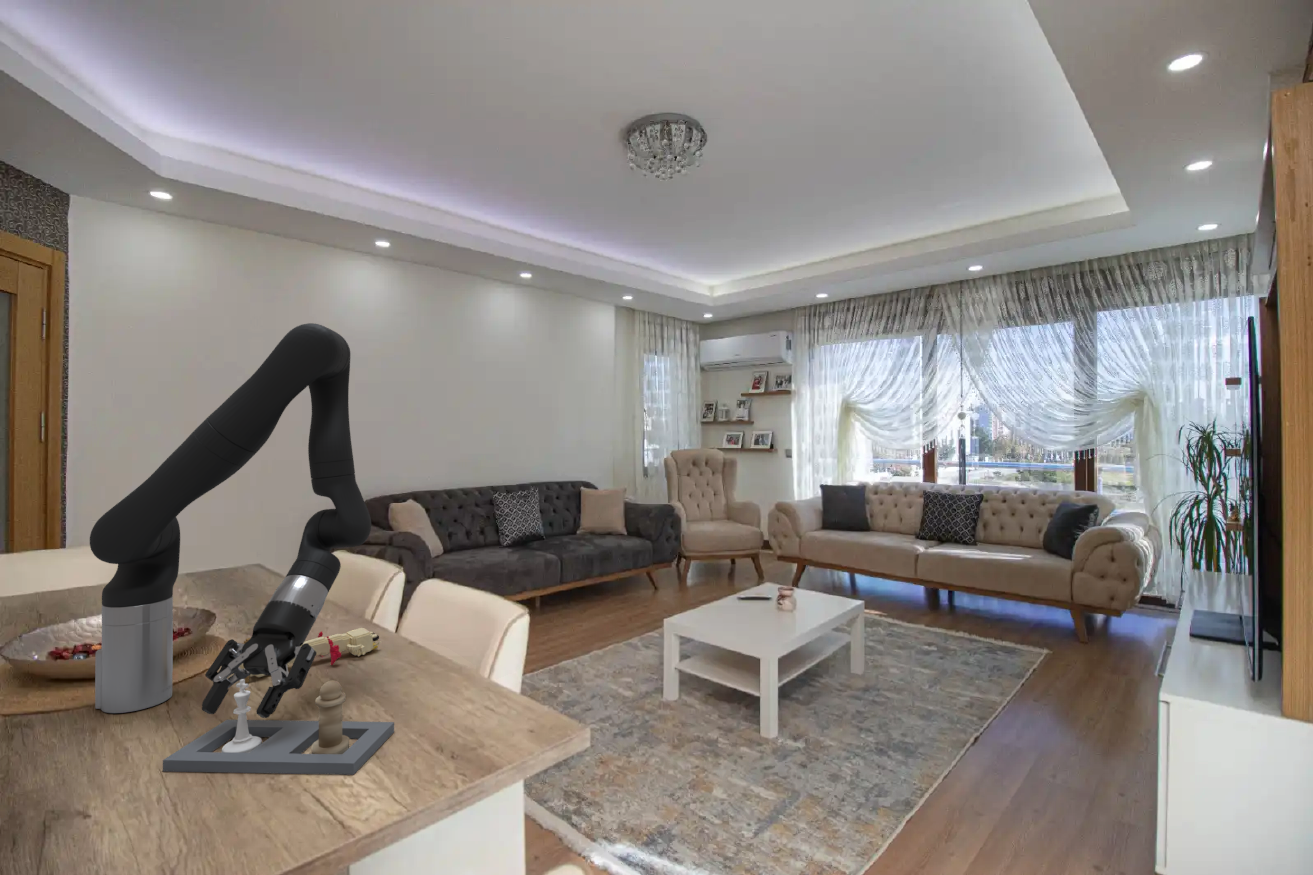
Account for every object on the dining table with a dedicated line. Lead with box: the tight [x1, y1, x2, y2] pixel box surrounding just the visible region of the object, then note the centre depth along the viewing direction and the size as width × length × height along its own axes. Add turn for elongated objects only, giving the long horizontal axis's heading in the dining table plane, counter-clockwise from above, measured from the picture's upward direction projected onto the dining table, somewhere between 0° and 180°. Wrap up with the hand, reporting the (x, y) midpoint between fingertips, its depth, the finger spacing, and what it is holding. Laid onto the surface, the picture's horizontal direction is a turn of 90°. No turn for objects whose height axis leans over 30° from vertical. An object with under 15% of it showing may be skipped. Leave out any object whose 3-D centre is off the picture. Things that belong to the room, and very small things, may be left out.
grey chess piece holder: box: [162, 719, 395, 776], centre depth 89 cm, size 26×12×2 cm, turn 89°
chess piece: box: [221, 679, 263, 753], centre depth 89 cm, size 5×5×10 cm
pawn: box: [310, 680, 350, 754], centre depth 89 cm, size 5×5×10 cm
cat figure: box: [239, 627, 382, 684], centre depth 123 cm, size 10×9×25 cm
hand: (234, 714), depth 88 cm, fingers open, 8 cm apart
